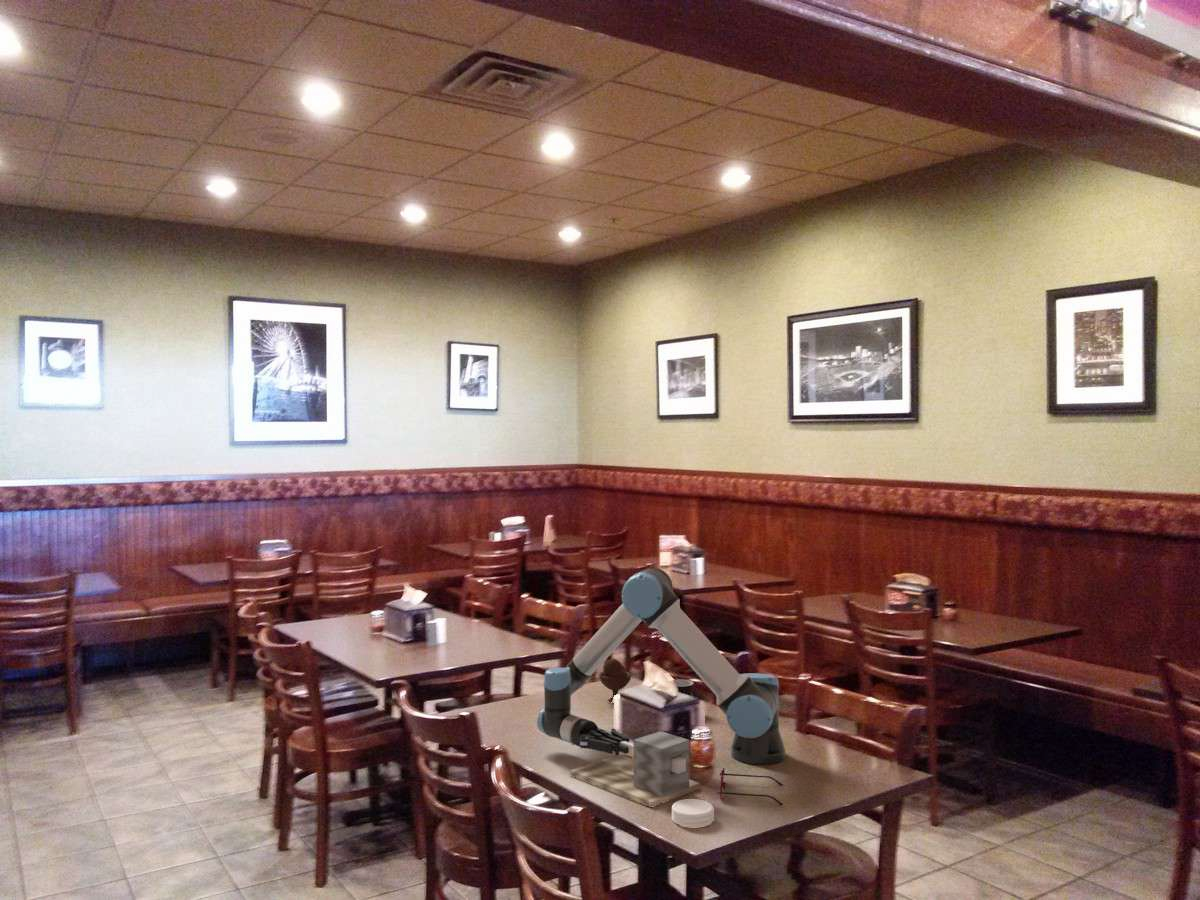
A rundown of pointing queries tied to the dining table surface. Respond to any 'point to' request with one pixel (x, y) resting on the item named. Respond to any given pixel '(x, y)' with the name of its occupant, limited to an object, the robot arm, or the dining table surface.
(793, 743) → the dining table surface
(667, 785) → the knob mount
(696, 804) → the white jar lid
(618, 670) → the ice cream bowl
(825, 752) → the dining table surface
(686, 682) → the coffee mug
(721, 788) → the glasses
